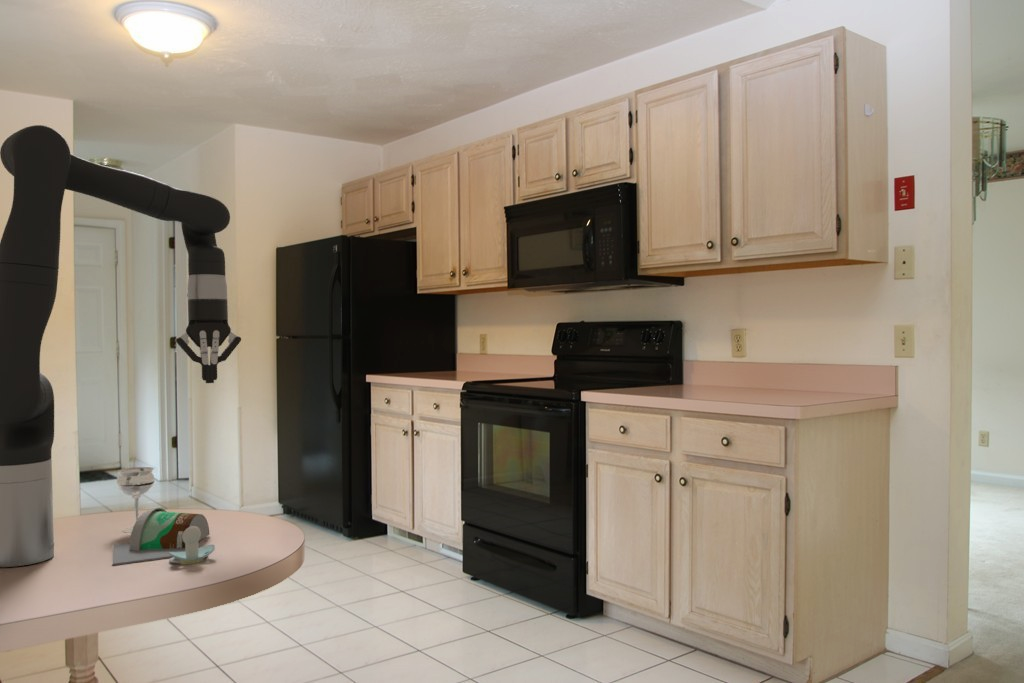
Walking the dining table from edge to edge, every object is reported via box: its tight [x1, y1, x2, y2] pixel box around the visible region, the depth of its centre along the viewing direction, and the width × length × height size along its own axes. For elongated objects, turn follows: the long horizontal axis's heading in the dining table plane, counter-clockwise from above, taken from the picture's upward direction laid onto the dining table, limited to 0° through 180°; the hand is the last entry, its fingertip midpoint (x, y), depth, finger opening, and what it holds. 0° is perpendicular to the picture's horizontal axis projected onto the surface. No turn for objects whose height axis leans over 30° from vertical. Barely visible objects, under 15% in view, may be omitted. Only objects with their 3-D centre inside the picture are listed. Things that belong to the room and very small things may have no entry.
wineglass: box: [116, 466, 155, 534], centre depth 156 cm, size 7×7×12 cm
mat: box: [112, 542, 201, 566], centre depth 140 cm, size 14×14×1 cm
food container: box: [129, 507, 210, 551], centre depth 144 cm, size 12×6×10 cm
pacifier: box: [168, 526, 216, 565], centre depth 133 cm, size 7×6×6 cm
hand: (209, 382), depth 158 cm, fingers closed
